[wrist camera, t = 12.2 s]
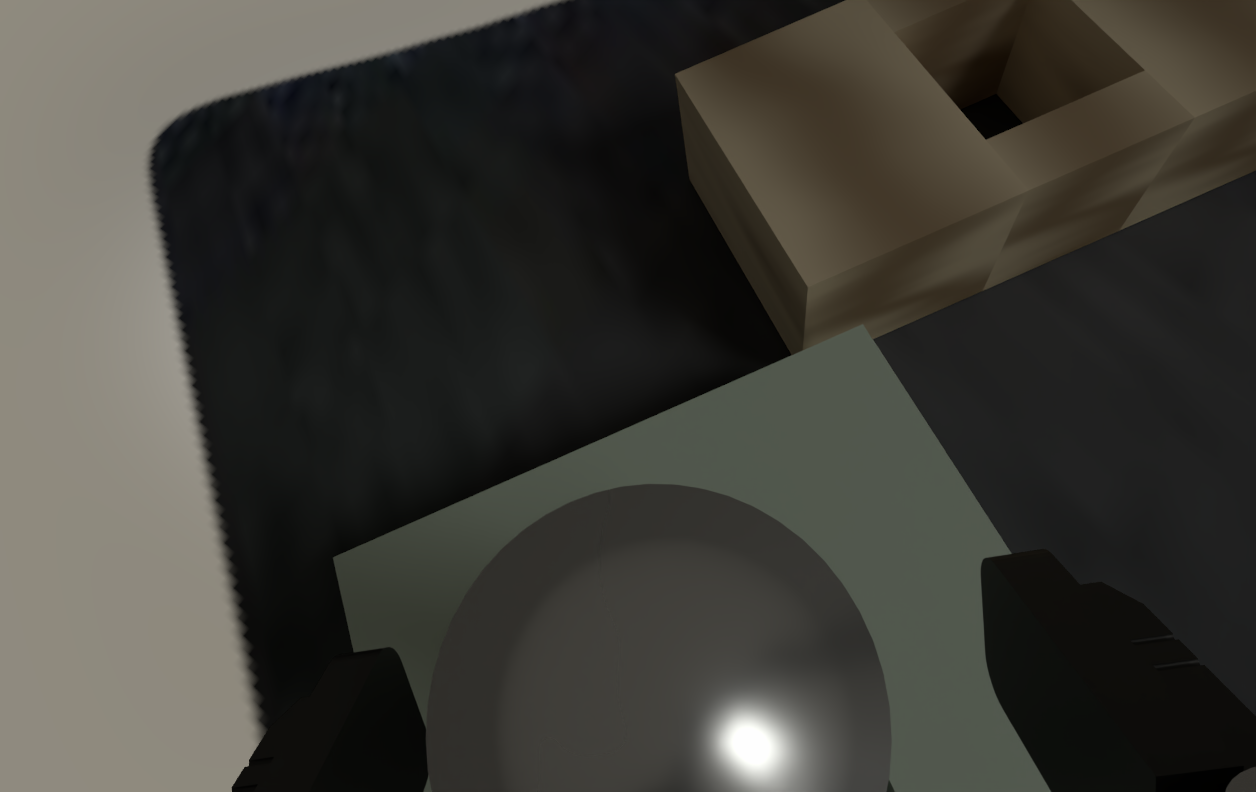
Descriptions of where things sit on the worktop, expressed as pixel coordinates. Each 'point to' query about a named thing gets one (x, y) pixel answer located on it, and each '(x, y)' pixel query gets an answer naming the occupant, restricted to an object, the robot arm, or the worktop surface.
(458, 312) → the worktop surface
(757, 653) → the axle
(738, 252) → the wooden block with hole
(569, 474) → the socket block
